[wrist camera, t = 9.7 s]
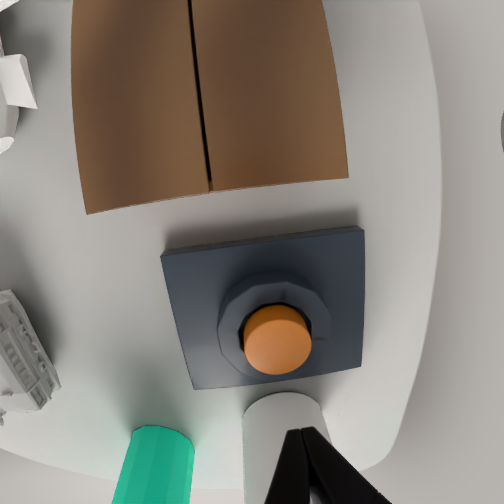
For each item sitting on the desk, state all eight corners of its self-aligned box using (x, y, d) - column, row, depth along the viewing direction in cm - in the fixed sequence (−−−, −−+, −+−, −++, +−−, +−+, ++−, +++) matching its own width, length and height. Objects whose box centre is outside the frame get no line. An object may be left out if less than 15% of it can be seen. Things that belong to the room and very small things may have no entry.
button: (304, 300, 17) (310, 314, 16) (306, 352, 18) (312, 369, 17) (239, 308, 17) (239, 324, 16) (247, 360, 18) (248, 378, 17)
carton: (285, -18, 14) (302, -74, 8) (314, 172, 18) (350, 179, 12) (115, 9, 14) (75, -34, 8) (131, 197, 18) (84, 216, 12)
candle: (121, 444, 24) (90, 546, 13) (147, 415, 23) (114, 536, 11) (175, 470, 25) (162, 570, 14) (207, 445, 24) (200, 562, 13)
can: (225, 416, 23) (222, 548, 12) (289, 375, 22) (321, 517, 11) (275, 449, 25) (290, 563, 13) (335, 414, 24) (375, 532, 12)
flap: (299, -69, 9) (301, -73, 8) (345, 177, 12) (349, 178, 12) (187, -62, 9) (186, -66, 8) (214, 191, 12) (213, 192, 12)
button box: (357, 225, 19) (376, 236, 16) (356, 357, 22) (369, 381, 19) (164, 250, 19) (151, 265, 16) (195, 380, 22) (191, 407, 19)
